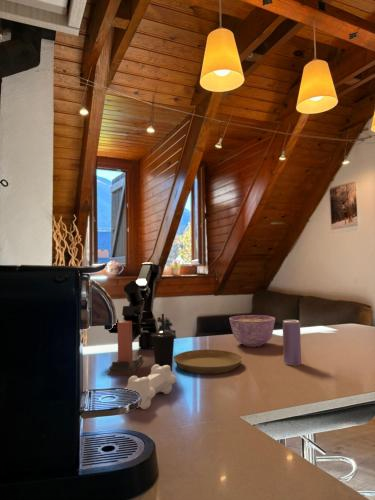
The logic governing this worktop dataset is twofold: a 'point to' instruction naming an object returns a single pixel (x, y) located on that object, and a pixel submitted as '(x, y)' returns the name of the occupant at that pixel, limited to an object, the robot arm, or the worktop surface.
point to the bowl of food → (252, 329)
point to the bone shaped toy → (152, 384)
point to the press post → (125, 341)
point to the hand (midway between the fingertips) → (128, 345)
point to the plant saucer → (207, 361)
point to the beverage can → (291, 342)
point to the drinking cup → (163, 346)
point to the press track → (125, 367)
